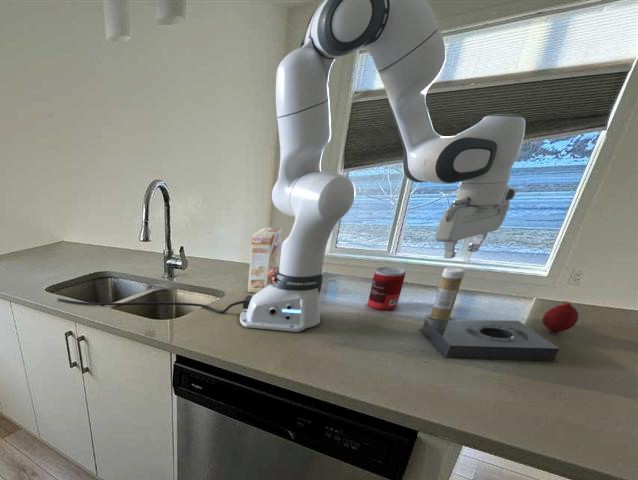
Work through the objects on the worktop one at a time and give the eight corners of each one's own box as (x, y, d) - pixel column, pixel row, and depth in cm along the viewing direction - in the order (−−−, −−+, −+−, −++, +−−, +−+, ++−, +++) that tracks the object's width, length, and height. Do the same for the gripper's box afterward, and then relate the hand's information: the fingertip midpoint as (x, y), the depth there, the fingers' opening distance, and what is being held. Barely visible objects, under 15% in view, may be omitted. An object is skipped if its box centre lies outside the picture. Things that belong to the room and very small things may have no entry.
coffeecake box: (267, 294, 140) (272, 235, 130) (246, 292, 144) (250, 235, 134) (277, 282, 151) (282, 227, 141) (257, 280, 154) (262, 227, 145)
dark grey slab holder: (446, 357, 93) (450, 345, 91) (421, 330, 106) (424, 319, 104) (553, 361, 87) (559, 348, 86) (513, 331, 101) (518, 320, 99)
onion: (564, 329, 100) (579, 298, 96) (574, 338, 95) (591, 306, 91) (533, 327, 102) (547, 296, 98) (542, 336, 97) (556, 304, 93)
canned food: (397, 303, 123) (406, 267, 117) (395, 312, 117) (405, 274, 112) (368, 301, 127) (376, 265, 121) (365, 309, 121) (374, 272, 116)
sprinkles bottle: (452, 317, 111) (469, 268, 104) (444, 322, 109) (461, 272, 102) (433, 313, 114) (448, 266, 107) (426, 318, 112) (440, 269, 105)
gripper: (466, 201, 90) (447, 264, 97) (520, 190, 96) (499, 249, 103) (437, 200, 95) (421, 259, 102) (490, 189, 101) (472, 246, 108)
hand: (460, 254), depth 103 cm, fingers open, 8 cm apart
